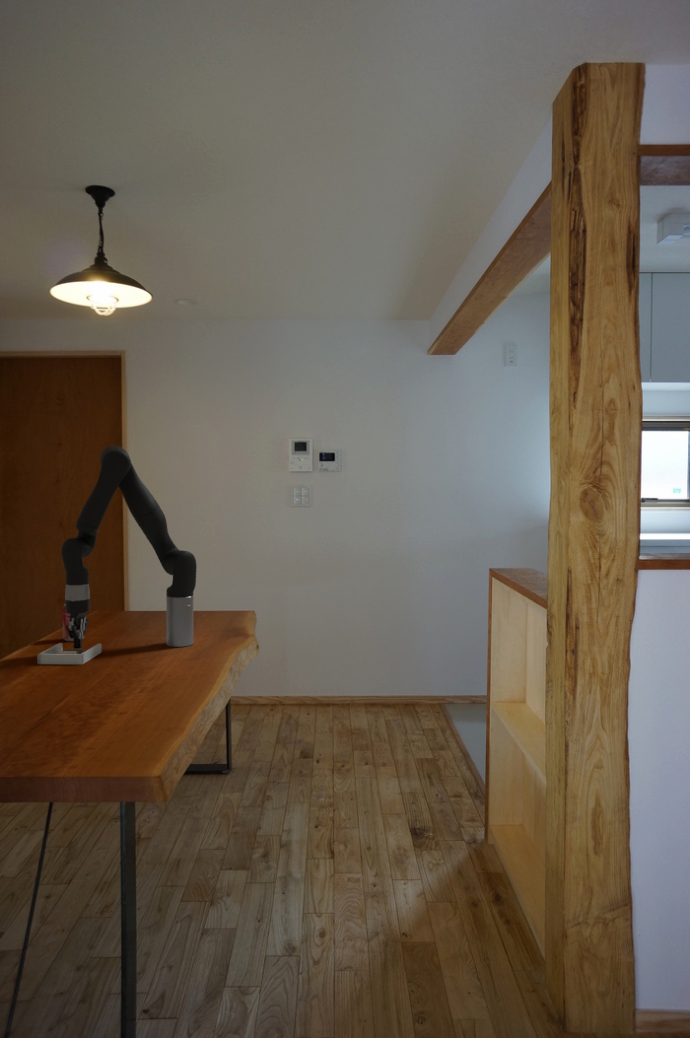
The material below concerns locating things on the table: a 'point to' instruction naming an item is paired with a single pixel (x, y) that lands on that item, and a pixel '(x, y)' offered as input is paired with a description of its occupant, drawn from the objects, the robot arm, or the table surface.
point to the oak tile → (67, 652)
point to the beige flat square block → (79, 650)
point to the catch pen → (66, 655)
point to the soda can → (66, 622)
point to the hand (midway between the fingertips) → (77, 649)
